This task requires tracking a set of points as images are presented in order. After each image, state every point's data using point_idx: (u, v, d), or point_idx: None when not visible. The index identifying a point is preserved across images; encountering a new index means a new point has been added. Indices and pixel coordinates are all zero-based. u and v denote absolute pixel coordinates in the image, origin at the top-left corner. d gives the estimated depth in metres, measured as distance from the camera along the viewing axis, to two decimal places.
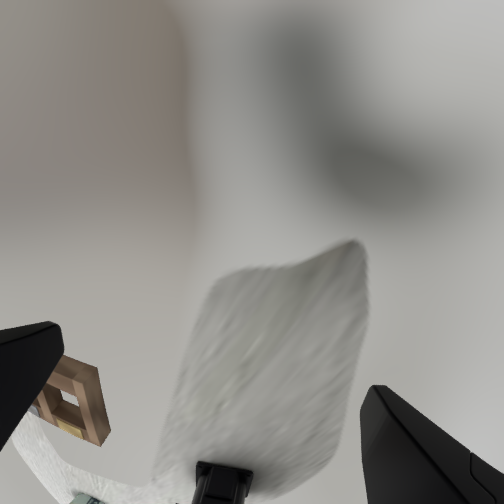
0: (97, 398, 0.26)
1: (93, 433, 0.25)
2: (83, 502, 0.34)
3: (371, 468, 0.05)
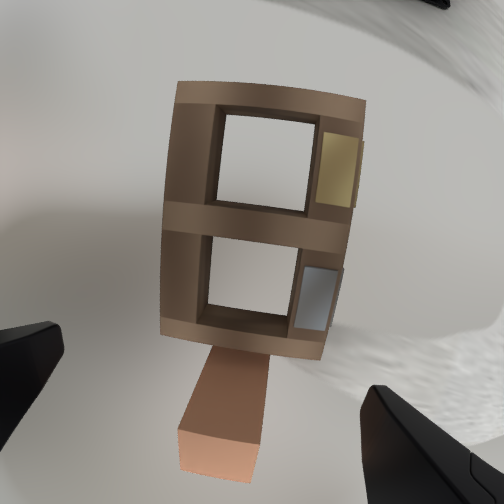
0: None
1: (322, 99, 0.14)
2: None
3: (371, 468, 0.05)
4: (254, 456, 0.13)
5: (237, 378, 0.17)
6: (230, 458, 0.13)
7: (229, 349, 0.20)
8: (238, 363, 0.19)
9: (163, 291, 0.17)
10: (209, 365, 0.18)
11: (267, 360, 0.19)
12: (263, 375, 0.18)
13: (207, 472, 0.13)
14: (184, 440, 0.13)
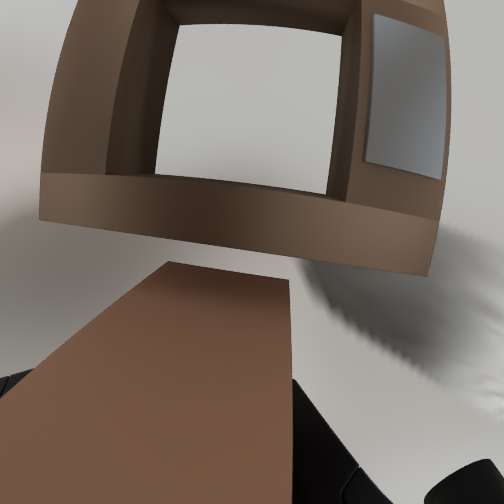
0: None
1: None
2: None
3: None
4: None
5: (203, 331, 0.06)
6: None
7: (194, 275, 0.09)
8: (210, 299, 0.07)
9: (53, 110, 0.06)
10: (134, 297, 0.07)
11: (285, 297, 0.08)
12: (277, 327, 0.06)
13: None
14: None
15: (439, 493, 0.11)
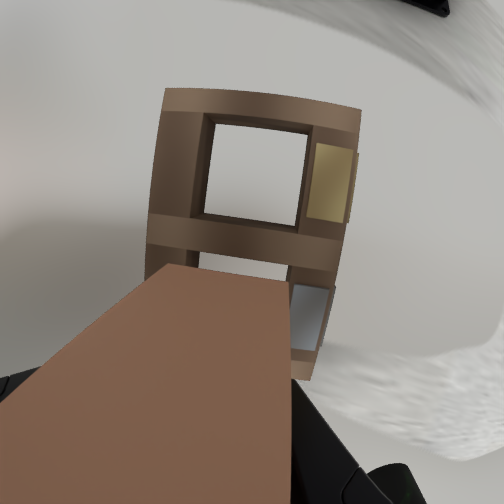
0: None
1: (315, 108, 0.13)
2: None
3: None
4: None
5: (202, 334, 0.06)
6: None
7: (194, 277, 0.09)
8: (210, 302, 0.07)
9: None
10: (134, 300, 0.07)
11: (284, 299, 0.08)
12: (276, 330, 0.06)
13: None
14: None
15: None
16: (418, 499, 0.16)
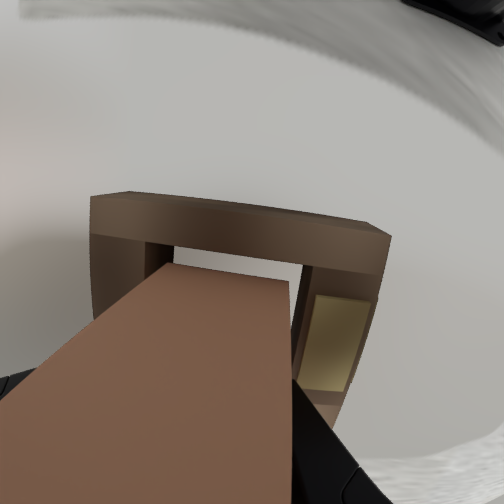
0: (198, 200, 0.11)
1: (318, 237, 0.09)
2: None
3: None
4: None
5: (202, 333, 0.06)
6: None
7: (194, 276, 0.09)
8: (210, 301, 0.07)
9: None
10: (133, 299, 0.07)
11: (284, 298, 0.08)
12: (277, 329, 0.06)
13: None
14: None
15: None
16: None
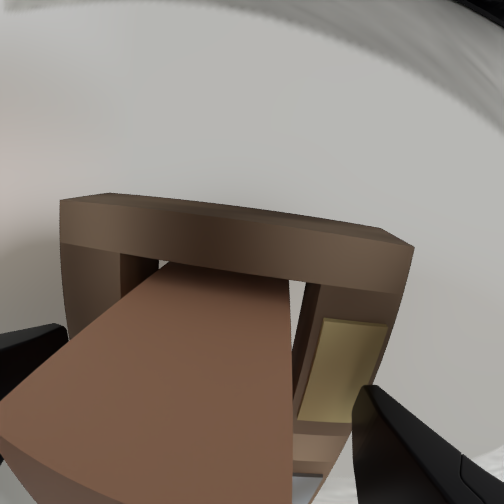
0: (184, 203, 0.09)
1: (327, 250, 0.07)
2: None
3: (361, 469, 0.05)
4: None
5: (213, 311, 0.07)
6: None
7: (203, 267, 0.10)
8: (218, 286, 0.08)
9: None
10: (150, 285, 0.08)
11: (284, 285, 0.09)
12: (278, 309, 0.07)
13: None
14: (16, 467, 0.02)
15: None
16: None
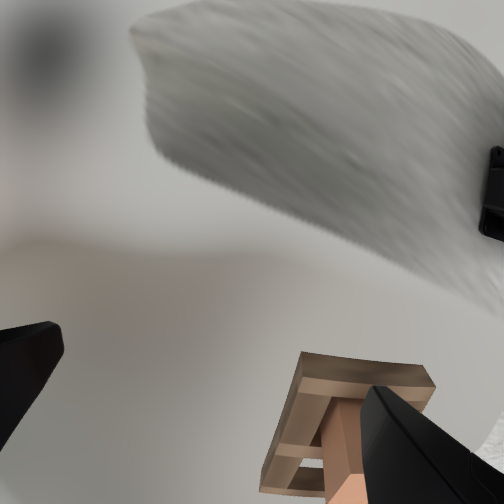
0: (350, 366, 0.19)
1: (408, 391, 0.17)
2: None
3: (371, 468, 0.05)
4: None
5: None
6: None
7: None
8: None
9: (267, 477, 0.20)
10: (343, 406, 0.18)
11: None
12: None
13: (351, 503, 0.13)
14: (350, 481, 0.12)
15: None
16: None
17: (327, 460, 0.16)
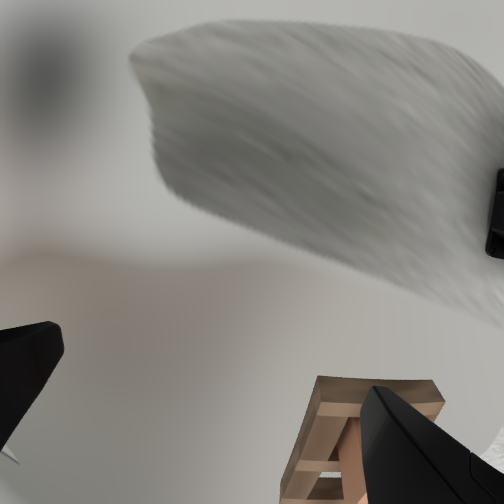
0: (364, 387, 0.19)
1: (419, 407, 0.17)
2: None
3: (371, 468, 0.05)
4: None
5: None
6: None
7: None
8: None
9: (288, 490, 0.21)
10: (359, 425, 0.18)
11: None
12: None
13: None
14: None
15: None
16: None
17: (345, 474, 0.16)
